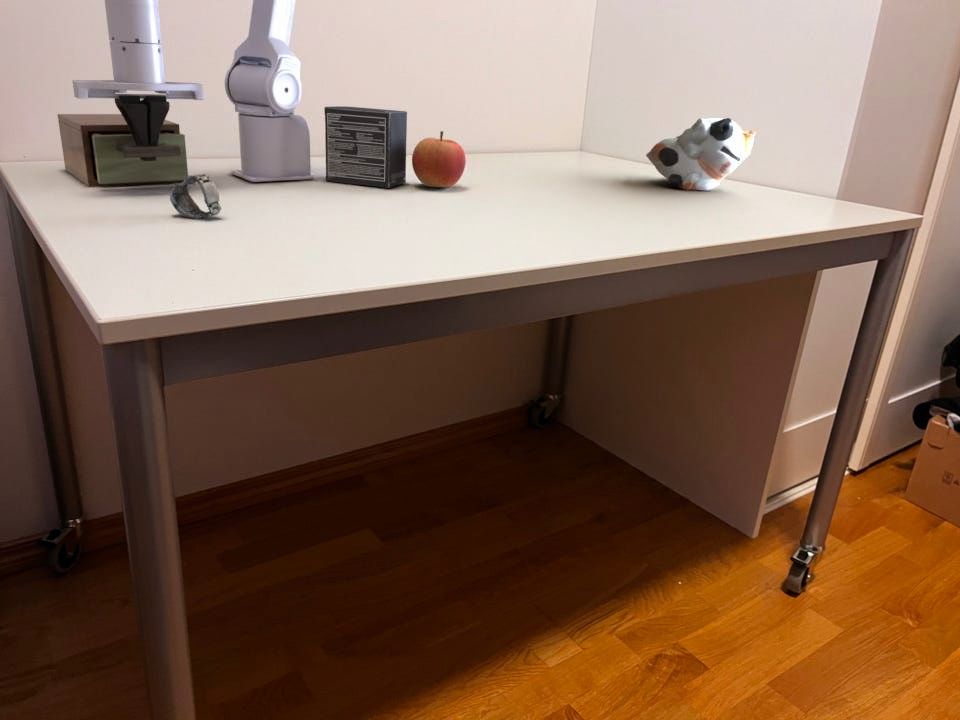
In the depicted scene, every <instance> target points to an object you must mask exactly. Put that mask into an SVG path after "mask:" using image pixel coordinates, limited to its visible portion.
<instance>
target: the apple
mask: <svg viewBox="0 0 960 720" xmlns="http://www.w3.org/2000/svg"><path fill="white" fill-rule="evenodd" d="M439 133H440V135H439V138H436V137H426V138H423V139H421V140H420V141H419V142H418V143H417V144H416V146H415V147H414V149H413V152H412V156H411V165H412V169H413V173H414V174H415V176H416V178H417V179H418V181H420V183H421V184H423V185H425V186H427V187H430V188H452V187H453V186H455V185H456V184H457V183H458V182H459V181H460V179H461V177H462V176H463V174H464V171H465V168H466V164H467V163H466V162H467V159H466V157H467V156H466V152H465V150H464V149H463V147H462V146H461V145H460V144H459V143H458V142H456V141H454V140H452V139H444V138H443V136H444V131H443V130H441V131H440V132H439Z"/></svg>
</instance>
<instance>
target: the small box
mask: <svg viewBox="0 0 960 720" xmlns="http://www.w3.org/2000/svg"><path fill="white" fill-rule="evenodd" d="M323 110H324V126H325V127H324V129H325V133H324V134H325V135H324V136H325V137H324V138H325V181H326V182H334V183H341V184H351V185H358V186H367V187H377V188H384V189H389V188H393V187H395V186H399V185H402V184H406V182H407V181H406V180H407V179H406V178H407V131H408V129H407V128H408V111H407V110H394V109H381V108H370V107H358V106H346V105H345V106H344V105H343V106H341V105H340V106H338V105H337V106H324V109H323Z"/></svg>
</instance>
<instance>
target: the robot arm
mask: <svg viewBox="0 0 960 720" xmlns="http://www.w3.org/2000/svg"><path fill="white" fill-rule="evenodd" d="M104 7H105V15H106V24H107V33H108V40H109V48H110V49H109V50H110V59H111V66H112V75H113V79H107V80H106V79H72V89H73V96H74V98H75V99H80V100H81V99H83V100H84V99H85V100H86V99H114V103H115V106H116V108H117V109H118V112H120V114H122V116H123V117H124V119H125V121H126V123H127V125H128V127H129V129H130V131H131V133H132V135H133V138H134V140H135V143H136V146H138V145H158V140H159V135H160V132H161V128H162V126H163V123H164V120H166V117H167V116H168V114H169V112H170V107H171V105H170V101H167V100H194V101H204V100H205V97H204V83H198V82H181V81H180V82H177V81H166V76H165V73H166V72H165V66H164V65H165V63H164V52H163V43H162V42H163V41H162V31H161V20H160V9H159V0H104ZM295 8H296V0H252V6H251V14H250V21H249V22H250V23H249V29H248V36H247V38H245V39H244V40H243V41H242V42H241V44H240V45H239V46H237V48H235V50H234V53H233V59H232V62H231V65H230V66H229V67H228V69H227V71H226V73H225V77H224V90H225V93H226V96H227V98H228V99H229V101H230V102H231V103H232V104H233V105H234V112H236V113H238V114H237V118H238V119H237V120H238V134H239V151H240V152H239V153H240V168H241V169H234V170H231V175H233V176H237V177H239V178H241V179H243V180H245V181H248V182H250V183H258V182H262V183H263V182H279V181H282V182H283V181H299V180H300V181H301V180H313V179H314V176H313V175H312V174H311V173H312V172H311V137H310V136H311V134H310V130H309V126H308V123H307V121H306V119H305V118H304V116H302V115H299V114H295V110H296V109H297V108H298V106H299V104H300V102H301V99H302V92H303V91H302V82H301V75H300V72H301V65H302V63H301V61H300V60H299V59H298V57H297V56H296V54H294V52H293V51H292V50H291V49H290V42H291V41H290V40H291V35H292V34H291V33H292V26H293V20H294V14H295ZM128 91H136V92H155V93H156V94H154V93H128ZM140 159H141V160H143V161H156V157H140Z"/></svg>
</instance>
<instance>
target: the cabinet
mask: <svg viewBox="0 0 960 720" xmlns="http://www.w3.org/2000/svg"><path fill="white" fill-rule="evenodd" d="M57 120H58V121H57V122H58V127H59V135H60V142H61V148H62V156H63V163H64V169H65V171H66V172H67V173H69V174H70V175H71V176H73V177H75V178H76V179H77V180H79V181H80V182H82V183H83V184H85V185H86V186H87V187H105V186H123V185H124V186H125V185H143V184H144V185H145V184H163V183H182V182H184V181H185V180H171V181H151V182H131V183H110V184H100V183H98V178H97V175H96V174H94V173H93V165H92V157H91V150H90V142H89V135H88V131H130V129H129V127H128V125H127V123H126V121H125V119H124V117H123V116H122V114H121V113H57ZM161 131H166V132H169V133H171V134H181V130H180V124H179V123H176V122H173V121H170V120H168V119H165V120H164V123H163V126H162V128H161Z"/></svg>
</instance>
